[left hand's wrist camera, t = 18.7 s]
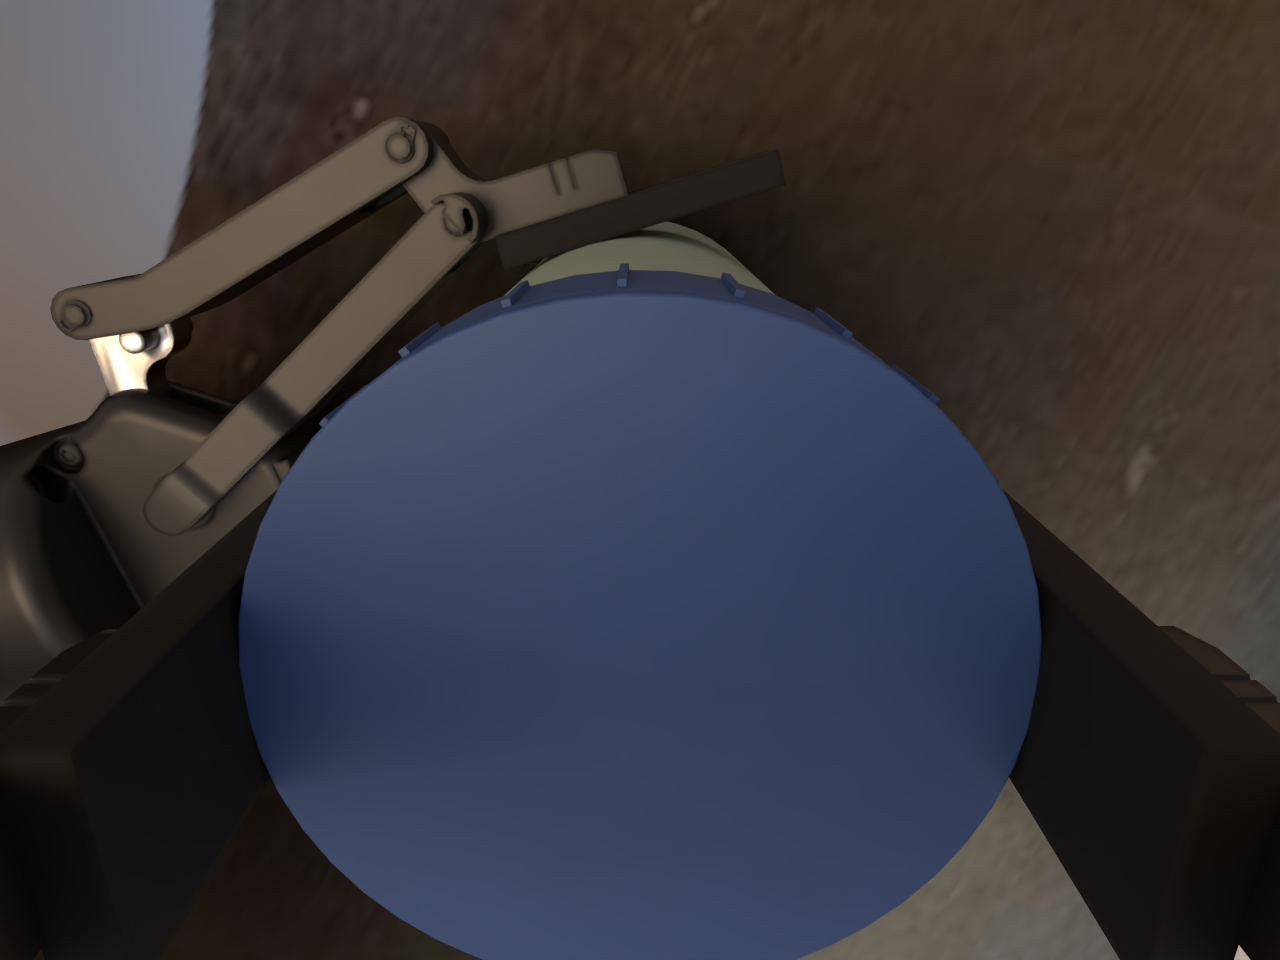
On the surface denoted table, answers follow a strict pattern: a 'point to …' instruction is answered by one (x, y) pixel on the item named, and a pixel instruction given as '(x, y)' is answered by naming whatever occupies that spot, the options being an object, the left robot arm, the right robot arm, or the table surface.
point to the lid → (639, 628)
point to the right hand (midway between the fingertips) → (815, 362)
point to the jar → (647, 256)
